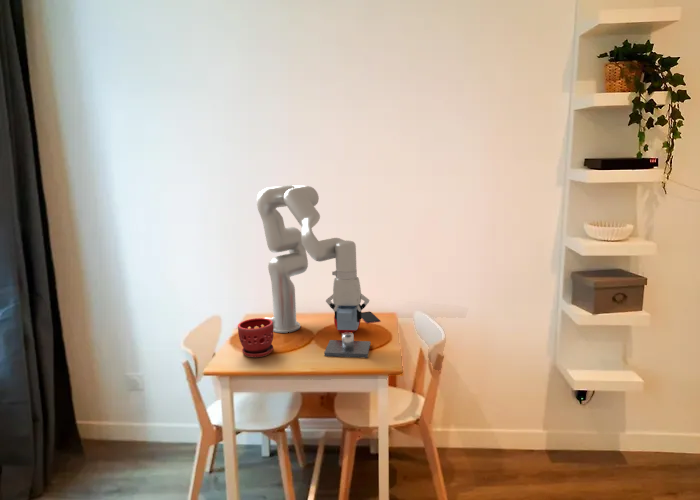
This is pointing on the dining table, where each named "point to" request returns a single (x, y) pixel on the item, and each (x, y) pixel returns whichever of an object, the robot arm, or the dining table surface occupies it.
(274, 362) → the dining table surface
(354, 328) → the elbow
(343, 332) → the tomato
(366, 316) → the smartphone
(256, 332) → the plant pot
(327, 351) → the duct base
